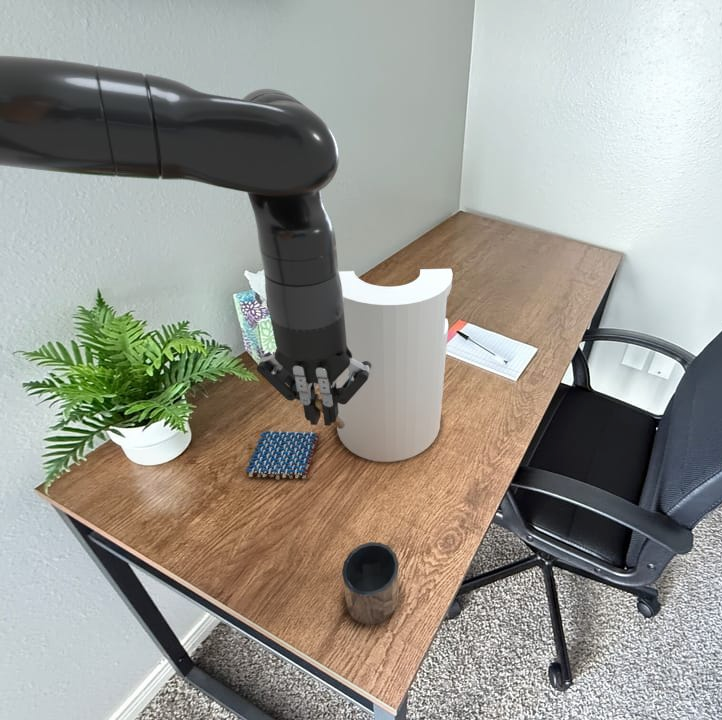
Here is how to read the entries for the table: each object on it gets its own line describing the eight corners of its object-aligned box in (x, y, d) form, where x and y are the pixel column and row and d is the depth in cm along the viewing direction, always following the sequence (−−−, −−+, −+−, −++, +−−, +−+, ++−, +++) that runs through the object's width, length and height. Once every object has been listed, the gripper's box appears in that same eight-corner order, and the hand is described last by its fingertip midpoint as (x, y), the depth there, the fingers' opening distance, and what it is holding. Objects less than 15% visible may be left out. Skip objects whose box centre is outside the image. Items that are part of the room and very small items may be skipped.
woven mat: (307, 481, 83) (306, 474, 81) (245, 479, 82) (243, 472, 80) (320, 437, 91) (319, 430, 90) (264, 435, 90) (262, 427, 88)
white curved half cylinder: (336, 424, 94) (438, 413, 100) (338, 469, 85) (449, 453, 91) (318, 269, 72) (450, 266, 78) (319, 308, 64) (466, 301, 70)
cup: (395, 625, 66) (394, 596, 60) (341, 624, 65) (336, 594, 60) (400, 574, 72) (401, 543, 66) (352, 572, 71) (348, 541, 65)
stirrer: (337, 424, 72) (330, 358, 64) (345, 424, 72) (339, 359, 64) (323, 469, 65) (313, 402, 57) (331, 469, 65) (322, 403, 57)
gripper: (377, 295, 53) (380, 404, 64) (255, 283, 52) (278, 396, 63) (364, 333, 47) (370, 446, 58) (226, 321, 46) (258, 438, 57)
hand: (322, 420), depth 60 cm, fingers closed on stirrer, 1 cm apart
